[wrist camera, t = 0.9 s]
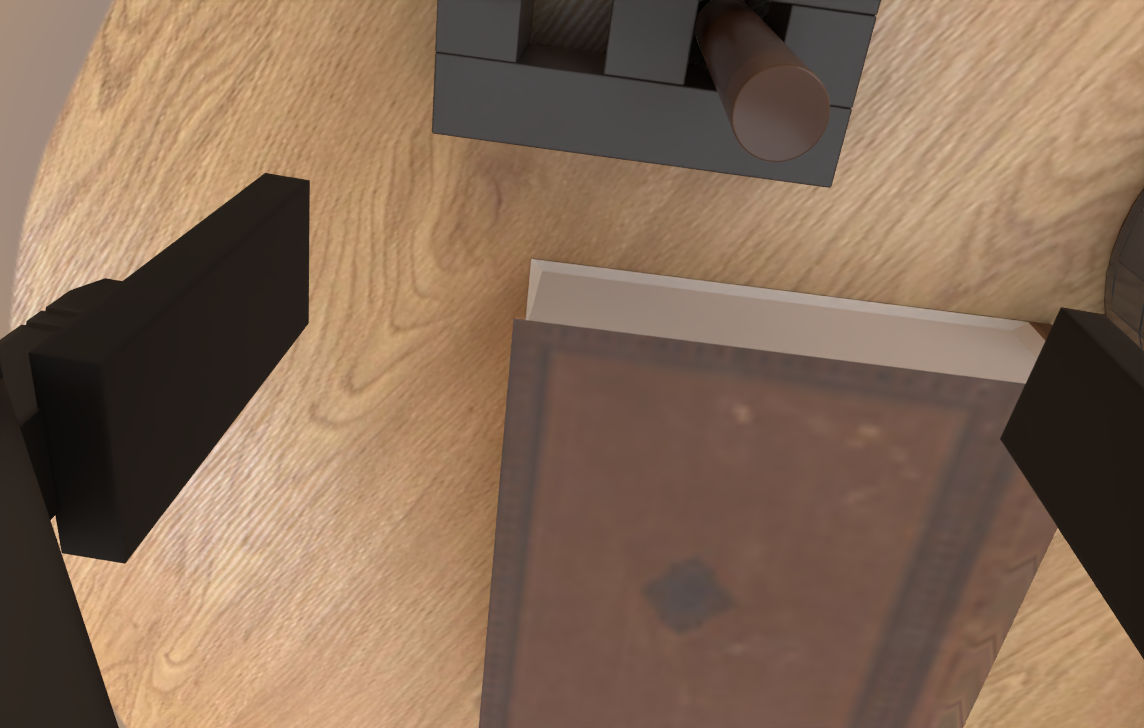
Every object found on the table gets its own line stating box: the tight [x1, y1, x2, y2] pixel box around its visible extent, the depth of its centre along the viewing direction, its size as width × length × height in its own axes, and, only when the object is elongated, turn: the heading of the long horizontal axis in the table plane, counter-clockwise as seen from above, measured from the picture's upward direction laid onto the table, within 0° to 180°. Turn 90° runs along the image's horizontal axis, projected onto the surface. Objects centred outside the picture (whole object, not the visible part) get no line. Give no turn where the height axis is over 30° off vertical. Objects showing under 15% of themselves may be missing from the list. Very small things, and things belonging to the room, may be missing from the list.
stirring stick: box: [695, 0, 830, 162], centre depth 29 cm, size 2×2×16 cm
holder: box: [432, 0, 881, 188], centre depth 34 cm, size 9×15×5 cm, turn 83°
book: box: [479, 259, 1057, 728], centre depth 45 cm, size 24×28×7 cm
